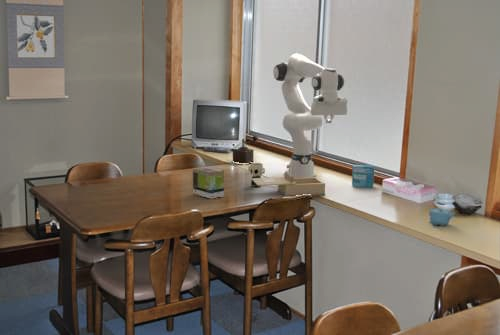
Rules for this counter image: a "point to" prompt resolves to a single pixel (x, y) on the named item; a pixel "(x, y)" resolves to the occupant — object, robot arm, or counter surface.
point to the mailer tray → (303, 187)
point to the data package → (363, 176)
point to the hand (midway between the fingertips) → (328, 123)
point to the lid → (275, 180)
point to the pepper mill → (244, 152)
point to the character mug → (256, 171)
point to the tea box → (208, 182)
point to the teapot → (440, 217)
